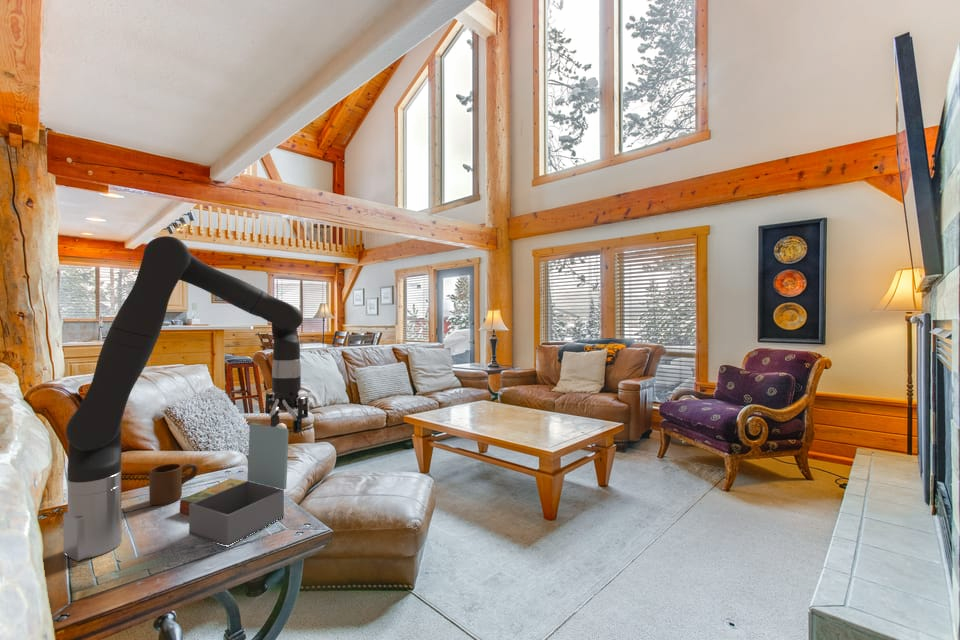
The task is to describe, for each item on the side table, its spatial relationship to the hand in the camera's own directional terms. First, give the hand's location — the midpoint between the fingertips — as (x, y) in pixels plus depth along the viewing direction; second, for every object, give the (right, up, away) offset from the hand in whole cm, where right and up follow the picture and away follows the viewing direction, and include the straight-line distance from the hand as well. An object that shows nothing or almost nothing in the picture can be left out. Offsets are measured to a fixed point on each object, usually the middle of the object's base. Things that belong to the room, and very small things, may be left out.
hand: (286, 430), depth 124 cm
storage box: (-6, -21, -13) cm, 26 cm away
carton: (-19, -21, -1) cm, 29 cm away
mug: (-34, -20, +2) cm, 39 cm away
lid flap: (-3, -5, -6) cm, 8 cm away
